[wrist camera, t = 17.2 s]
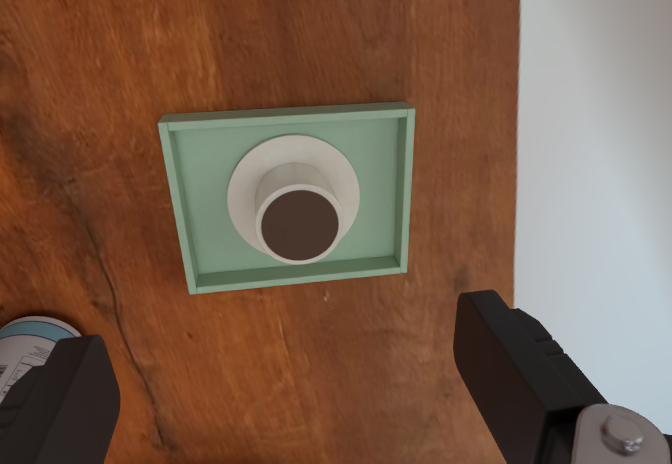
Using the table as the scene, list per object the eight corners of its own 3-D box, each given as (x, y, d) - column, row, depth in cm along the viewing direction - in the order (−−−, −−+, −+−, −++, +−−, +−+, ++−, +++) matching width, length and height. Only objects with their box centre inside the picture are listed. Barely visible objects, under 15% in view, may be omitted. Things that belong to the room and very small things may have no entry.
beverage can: (-6, 366, 40) (-100, 501, 29) (6, 299, 37) (-91, 419, 27) (83, 382, 42) (26, 514, 31) (100, 320, 39) (45, 439, 29)
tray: (404, 101, 35) (415, 108, 33) (398, 257, 41) (407, 272, 39) (163, 113, 33) (157, 122, 31) (192, 277, 39) (189, 295, 37)
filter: (358, 129, 35) (374, 149, 31) (358, 249, 40) (372, 282, 35) (219, 137, 34) (214, 159, 29) (235, 260, 38) (233, 297, 34)
